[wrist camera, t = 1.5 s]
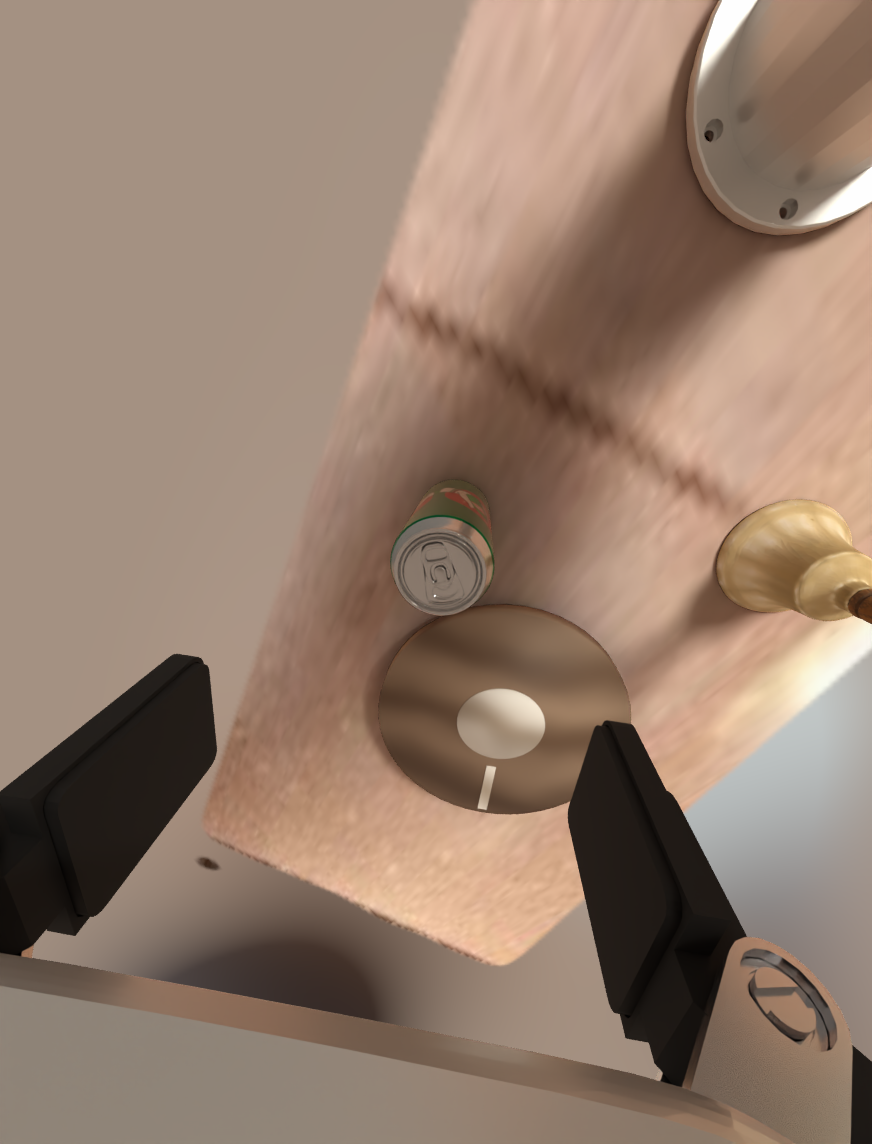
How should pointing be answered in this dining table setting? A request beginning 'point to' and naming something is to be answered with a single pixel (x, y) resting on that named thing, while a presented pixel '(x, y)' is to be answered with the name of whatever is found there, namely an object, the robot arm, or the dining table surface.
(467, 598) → the soda can
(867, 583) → the hand bell
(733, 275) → the dining table surface
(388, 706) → the turntable
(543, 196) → the dining table surface
